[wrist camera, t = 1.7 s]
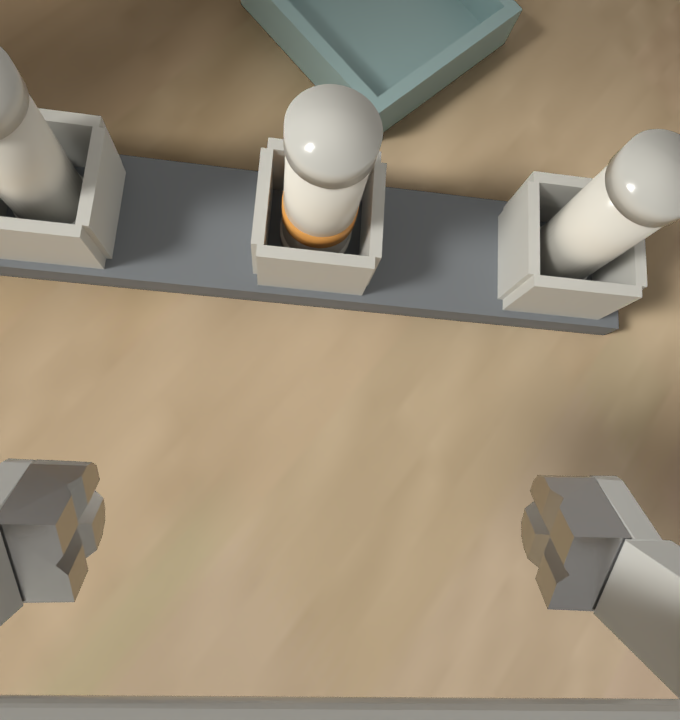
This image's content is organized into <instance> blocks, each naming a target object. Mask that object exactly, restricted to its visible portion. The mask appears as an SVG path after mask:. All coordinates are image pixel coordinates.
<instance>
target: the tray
mask: <svg viewBox="0 0 680 720" xmlns="http://www.w3.org/2000/svg"><path fill="white" fill-rule="evenodd" d="M241 5H242V6H243V7H244V8H245V9H246V10H247V11H248V12H249V13H250V14H251V15H252V17H253V18H254V19H255V20H256V21H257V22H258V23H259V24H260V25H261V26H262V28H263V29H264V30H265V31H266V32H267V33H268V34H269V35H270V36H271V37H272V38H273V40H274V41H275V42H276V43H277V44H278V45H279V46H280V47H281V48H282V49H283V51H284V52H285V53H286V54H287V55H288V56H289V57H290V58H291V59H292V60H293V62H294V63H295V64H296V65H297V66H298V67H299V68H300V69H301V70H302V71H303V72H304V74H305V75H306V76H307V77H308V78H309V79H310V80H311V81H312V82H313V83H314V85H315V86H317V85H322V84H338V85H343V86H346V87H349V88H352V89H354V90H356V91H358V92H360V93H361V94H363V95H364V96H365V97H366V98H367V99H368V100H370V101H371V103H372V104H373V105H374V106H375V108H376V109H377V111H378V113H379V115H380V118H381V121H382V125H383V132H385V131H386V130H387V129H389V128H390V127H391V126H393V125H394V124H396V123H397V122H398V121H400V120H401V119H402V118H404V117H405V116H406V115H408V114H409V113H410V112H412V111H413V110H415V109H416V108H417V107H419V106H420V105H421V104H423V103H424V102H425V101H427V100H428V99H430V98H431V97H432V96H434V95H435V94H436V93H438V92H439V91H440V90H442V89H443V88H444V87H446V86H447V85H449V84H450V83H451V82H453V81H454V80H455V79H457V78H458V77H459V76H461V75H462V74H464V73H465V72H466V71H468V70H469V69H470V68H472V67H473V66H474V65H476V64H477V63H478V62H480V61H481V60H483V59H484V58H485V57H487V56H488V55H489V54H491V53H492V52H493V51H495V50H496V49H498V48H499V47H500V46H502V45H503V44H504V43H505V41H506V40H507V38H508V36H509V34H510V32H511V30H512V28H513V26H514V24H515V23H516V21H517V19H518V17H519V15H520V13H521V11H522V8H521V7H520V6H519V5H518V4H517V3H516V2H515V1H514V0H241Z"/></svg>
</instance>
